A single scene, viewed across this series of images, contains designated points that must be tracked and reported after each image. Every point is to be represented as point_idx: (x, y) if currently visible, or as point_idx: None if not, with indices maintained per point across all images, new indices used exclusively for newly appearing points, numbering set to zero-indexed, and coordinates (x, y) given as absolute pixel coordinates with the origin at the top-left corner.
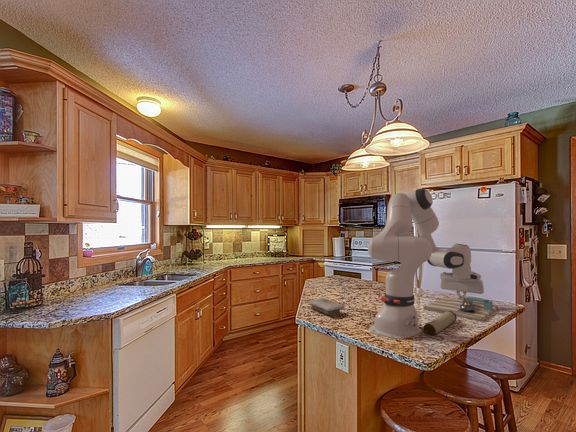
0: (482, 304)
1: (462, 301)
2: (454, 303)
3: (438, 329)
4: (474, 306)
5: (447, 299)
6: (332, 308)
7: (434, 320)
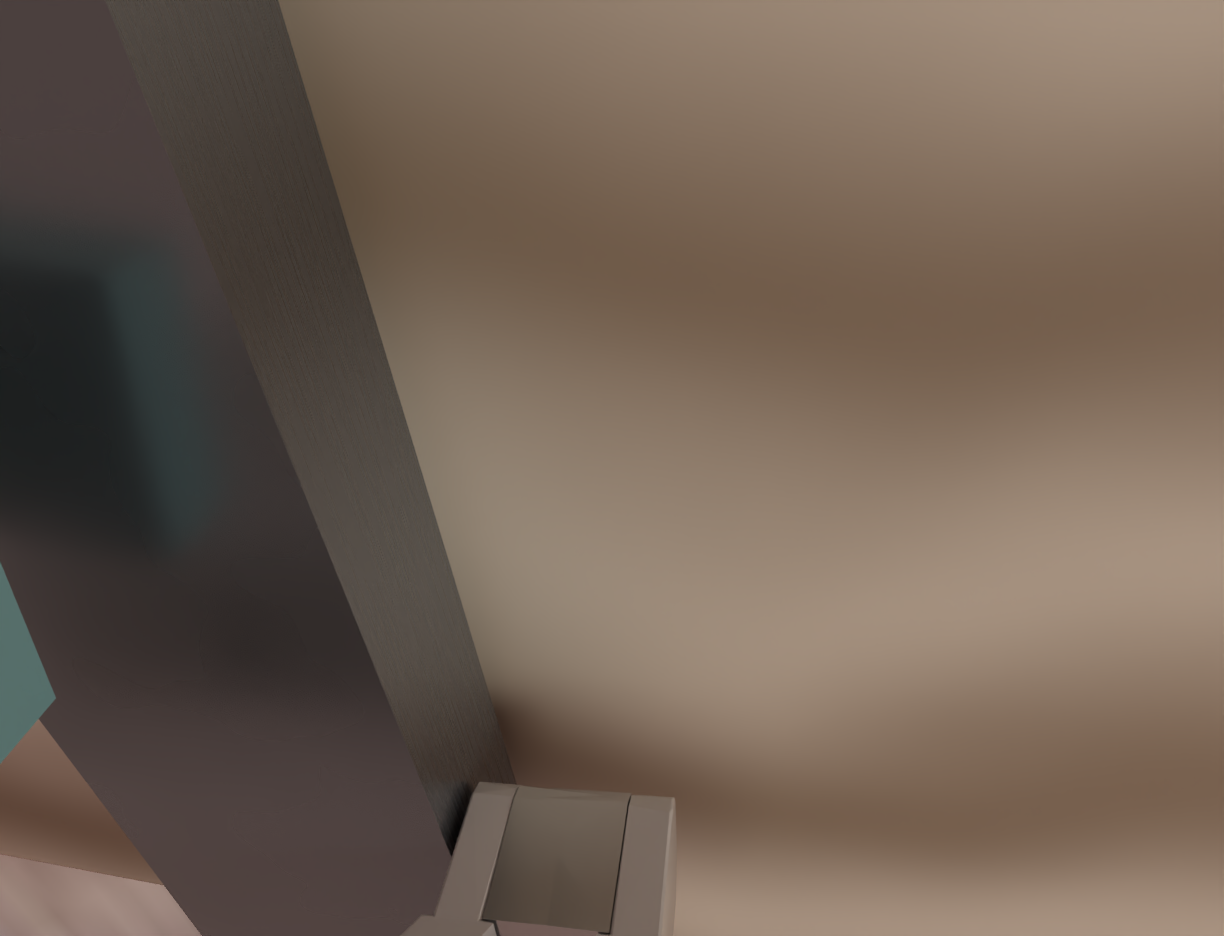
0: (52, 763)
1: None
2: (832, 460)
3: None
4: None
5: (1106, 864)
6: None
7: None
